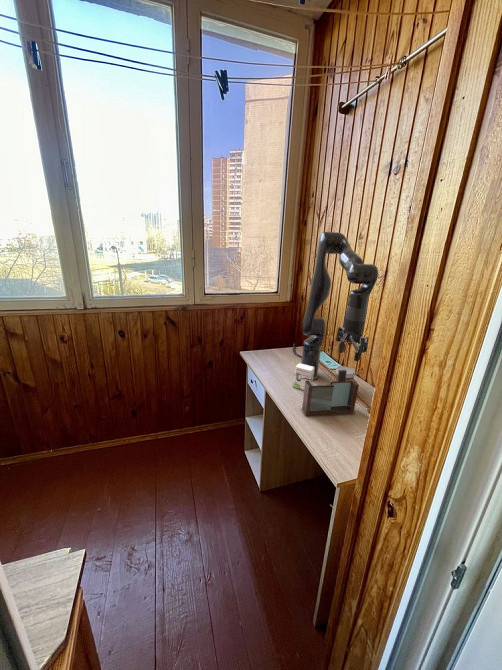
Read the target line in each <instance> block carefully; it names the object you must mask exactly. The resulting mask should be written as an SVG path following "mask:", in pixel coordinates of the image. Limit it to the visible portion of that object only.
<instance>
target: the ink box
mask: <svg viewBox="0 0 502 670" xmlns="http://www.w3.org/2000/svg"><path fill="white" fill-rule="evenodd" d="M314 369H315V368H314V367H312V366H309V365H305V364H301V362H299V363H297V364H296V365H295V370H294V371H295V372H294V377H293V388H295V389H297V390H298V389H299V390H302V391H304V388H305V381H310V383H311V385H312V386H313V384H314V383H313V382H314V379H313V376H314Z"/></svg>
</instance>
